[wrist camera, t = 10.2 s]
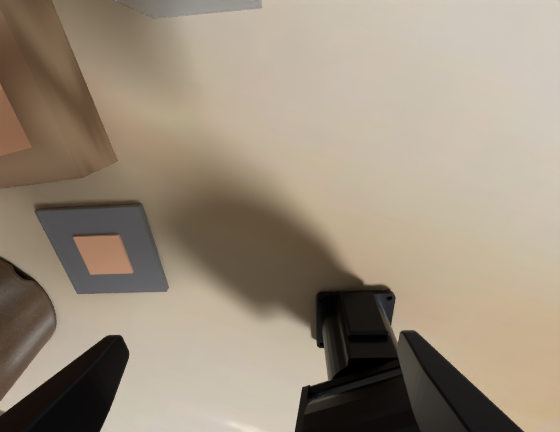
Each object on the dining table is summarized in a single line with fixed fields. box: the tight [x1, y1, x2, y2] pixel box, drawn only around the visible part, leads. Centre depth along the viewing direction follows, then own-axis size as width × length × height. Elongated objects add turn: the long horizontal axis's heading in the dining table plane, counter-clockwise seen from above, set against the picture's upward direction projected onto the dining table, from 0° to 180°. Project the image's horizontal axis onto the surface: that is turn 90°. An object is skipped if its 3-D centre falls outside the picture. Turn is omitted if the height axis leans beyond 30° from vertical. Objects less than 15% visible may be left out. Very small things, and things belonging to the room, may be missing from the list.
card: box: [35, 204, 169, 294], centre depth 22 cm, size 8×8×1 cm
